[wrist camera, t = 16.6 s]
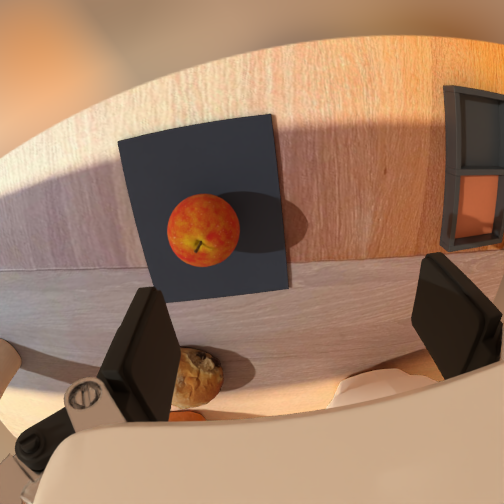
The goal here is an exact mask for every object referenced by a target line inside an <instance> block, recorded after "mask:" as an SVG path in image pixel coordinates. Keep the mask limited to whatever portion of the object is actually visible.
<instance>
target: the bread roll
mask: <svg viewBox="0 0 504 504" xmlns="http://www.w3.org/2000/svg"><path fill="white" fill-rule="evenodd" d="M180 349H181V358H180V363H179V368H178V373H177V378H176V383H175V388H174V393H173V398H172V404H171V405H173V406H176V407H179V408H180V409H187V408H190V407H197V406H201V405H205V404H207V403H208V402H210V401H211V400H212V399H214V398H215V396H216V395H217V394H218V393H219V391H220V390H221V387H222V384H223V381H224V378H223V371H222V368H221V364H220V361H219V360H218V359H217V358H214V357H212V356H211V355H210V354H208V353H205V352H203V351H200V350H197V349H191V348H180Z"/></svg>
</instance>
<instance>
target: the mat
mask: <svg viewBox="0 0 504 504" xmlns="http://www.w3.org/2000/svg"><path fill="white" fill-rule="evenodd" d="M118 147H119V152H120V157H121V162H122V167H123V171H124V176H125V180H126V185H127V189H128V194H129V198H130V202H131V206H132V210H133V214H134V218H135V222H136V226H137V230H138V233H139V237H140V241H141V244H142V248H143V252H144V255H145V259H146V262H147V265H148V269H149V272H150V275H151V279H152V282H153V285H154V287H156V289H157V290H161V292H162V294H163V297H164V300H165V303H170V302H181V301H190V300H200V299H209V298H218V297H227V296H235V295H244V294H252V293H260V292H268V291H276V290H283V289H289V286H288V274H287V262H286V251H285V239H284V229H283V218H282V208H281V198H280V188H279V179H278V170H277V161H276V152H275V143H274V135H273V126H272V118H271V114H265V115H257V116H248V117H240V118H233V119H226V120H219V121H213V122H207V123H201V124H195V125H190V126H184V127H179V128H174V129H169V130H164V131H160V132H155V133H150V134H146V135H142V136H137V137H133V138H129V139H125V140H121V141H118ZM197 194H212V195H215V196H218V197H220V198H222V199H223V200H225V201H226V202H227V203H228V204H230V206H231V207H232V208H233V209H234V211H235V213H236V215H237V217H238V220H239V226H240V233H239V239H238V242H237V245H236V247H235V249H234V251H233V252H232V253H231V255H230V256H229V257H228V258H227V259H225V260H224V261H222V262H221V263H218V264H216V265H212V266H207V267H197V266H193V265H190V264H187V263H185V262H184V261H182V260H181V259H180V258H178V256H177V255H176V254H175V253H174V251H173V250H172V248H171V246H170V243H169V240H168V234H167V228H168V222H169V218H170V216H171V214H172V212H173V210H174V209H175V207H176V206H177V205H178V204H179V203H180V202H182V201H183V200H184V199H186V198H188V197H190V196H193V195H197Z"/></svg>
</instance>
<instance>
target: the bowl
mask: <svg viewBox="0 0 504 504" xmlns="http://www.w3.org/2000/svg"><path fill="white" fill-rule="evenodd" d="M434 383H437V381H435V380H433V379H431V378H429V377H427V376H424V375H409V374H407V373H406V372H404V371H402V370H400V369H396V368H393V369H380V370H374V371H370V372H366V373H362V374H359V375H356V376H353V377H350V378H347V379H345V380H342V381H341V382H340V384H339V385H338V387H337V390H336V392H335V394H334V398H333V399H332V400H331V402H330V403H329V404H328V406H327V408H326V409H328V408H333V407H339V406H344V405H350V404H355V403H359V402H364V401H369V400H373V399H378V398H382V397H386V396H390V395H394V394H398V393H402V392H406V391H410V390H413V389H417V388H420V387H424V386H427V385H431V384H434Z"/></svg>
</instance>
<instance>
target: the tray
mask: <svg viewBox="0 0 504 504" xmlns="http://www.w3.org/2000/svg"><path fill="white" fill-rule="evenodd" d="M443 91H444V105H445V127H446V170H445V192H444V207H443V218H442V228H441V237H440V246H442V247H443V248H444V249H445V250H446V251H448V252H453V251H458V250H464V249H470V248H475V247H481V246H486V245H492V244H497V243H502V238H503V233H504V95H503V94H498V93H494V92H489V91H484V90H478V89H473V88H467V87H461V86H454V85H449V86H443Z"/></svg>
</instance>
